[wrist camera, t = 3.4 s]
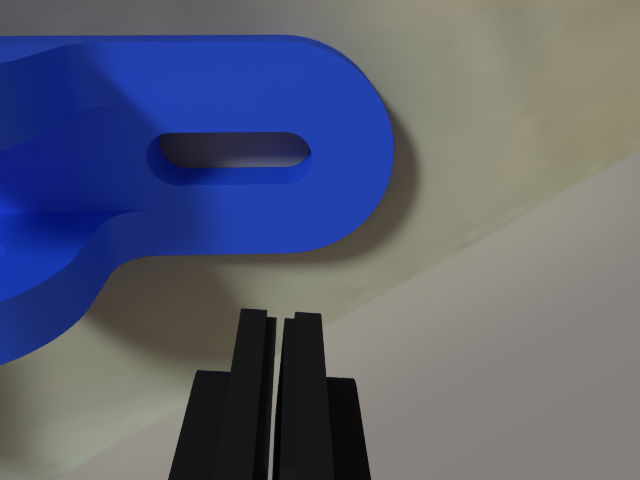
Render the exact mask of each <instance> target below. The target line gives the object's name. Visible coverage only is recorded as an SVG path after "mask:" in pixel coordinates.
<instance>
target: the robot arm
mask: <svg viewBox="0 0 640 480" xmlns="http://www.w3.org/2000/svg"><path fill="white" fill-rule="evenodd" d="M276 322H277V318H275V317H267V310H258V309H243V308H242V309H241V313H240V319H239V325H238V330H237V336H236V342H235V348H234V354H233V360H232V366H231V372H222V371H203V370H197V372H196V375H195V378H194V381H193V385H192V389H191V393H190V397H189V401H188V405H187V409H186V413H185V416H184V420H183V424H182V428H181V432H180V436H179V440H178V443H177V447H176V451H175V455H174V459H173V463H172V467H171V471H170V474H169V478H168V480H268V465H269V448H270V447H269V446H270V429H271V412H272V393H273V376H274V358H275V340H276ZM274 432H275V433H274V452H273V474H272V480H371V476H370V470H369V463H368V457H367V451H366V444H365V437H364V431H363V425H362V418H361V412H360V405H359V399H358V393H357V387H356V382H355V380H354V379H353V378H335V377H326V367H325V355H324V343H323V330H322V318H321V314H320V313H305V312H295V317H294V319H291V318H285V321H284V331H283V341H282V351H281V362H280V373H279V383H278V393H277V404H276V415H275V430H274Z"/></svg>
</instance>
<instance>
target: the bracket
mask: <svg viewBox="0 0 640 480" xmlns="http://www.w3.org/2000/svg"><path fill="white" fill-rule="evenodd" d="M213 132H290V133H294V134H296V135H298V136H300V137H301V138H303V139H304V140H305V141H306V143H307V144H308V145H309V147H310V152H309V154H308V156H307V157H306V158H305V159H304V160H303V161H302V162H301V163H299V164H297V165H295V166H291V167H243V168H182V167H179V166H176V165H174V164H172V163H171V162H170V161H168V160H167V159H166V157H165V156H164V155H163V153H162V151H161V149H160V144H159V137H160V135H161V134H165V133H213ZM393 157H394V140H393V134H392V128H391V124H390V120H389V117H388V114H387V112H386V109H385V107H384V105H383V103H382V101H381V99H380V97H379V95H378V94H377V92H376V91H375V89H374V87H373V86H372V84H371V83H370V81H369V80H368V79H367V77H366V76H365V74H364V73H363V72H362V71H361V70H360V69H359V68H358V66H357V65H355V64H354V63H353V62H352V61H351V60H350V59H349V58H347V57H346V56H345V55H343V54H342V53H341V52H339V51H337V50H336V49H334V48H332V47H330V46H328V45H326V44H324V43H321V42H319V41H316V40H313V39H309V38H305V37H300V36H292V35H145V36H0V365H2V364H5V363H7V362H10V361H13V360H15V359H18V358H20V357H22V356H24V355H26V354H29V353H31V352H33V351H35V350H37V349H38V348H40V347H42V346H44V345H46V344H47V343H49V342H51V341H52V340H54V339H55V338H57V337H58V336H60V335H61V334H63V333H64V332H65V331H67V330H68V329H69V328H70V327H72V326H73V325H74V324H75V323H76V322H77V321H78V320H79V319H80V318H81V317H82V316H83V315H84V314H85V313H86V311H87V310H88V309H89V307H90V306H91V304H92V303H93V301H94V299H95V298H96V296H97V295H98V293H99V291H100V290H101V288H102V287H103V285H104V284H105V282H106V280H107V279H108V277H109V276H110V274H111V273H112V271H113V270H114V269H116V268H117V267H118V266H120V265H121V264H123V263H125V262H127V261H130V260H133V259H136V258H140V257H145V256H156V255H212V254H268V253H298V252H305V251H310V250H314V249H318V248H321V247H324V246H327V245H330V244H332V243H334V242H336V241H338V240H340V239H342V238H343V237H345V236H347V235H348V234H350V233H351V232H352V231H354V230H355V229H356V228H357V227H359V226H360V225H361V224H362V223H363V222H364V221H365V220H366V219H367V218H368V217H369V215H370V214H371V213H372V212H373V210H374V209H375V208H376V206H377V205H378V203H379V202H380V200H381V198H382V196H383V194H384V192H385V190H386V187H387V185H388V182H389V179H390V176H391V171H392V166H393Z"/></svg>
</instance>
